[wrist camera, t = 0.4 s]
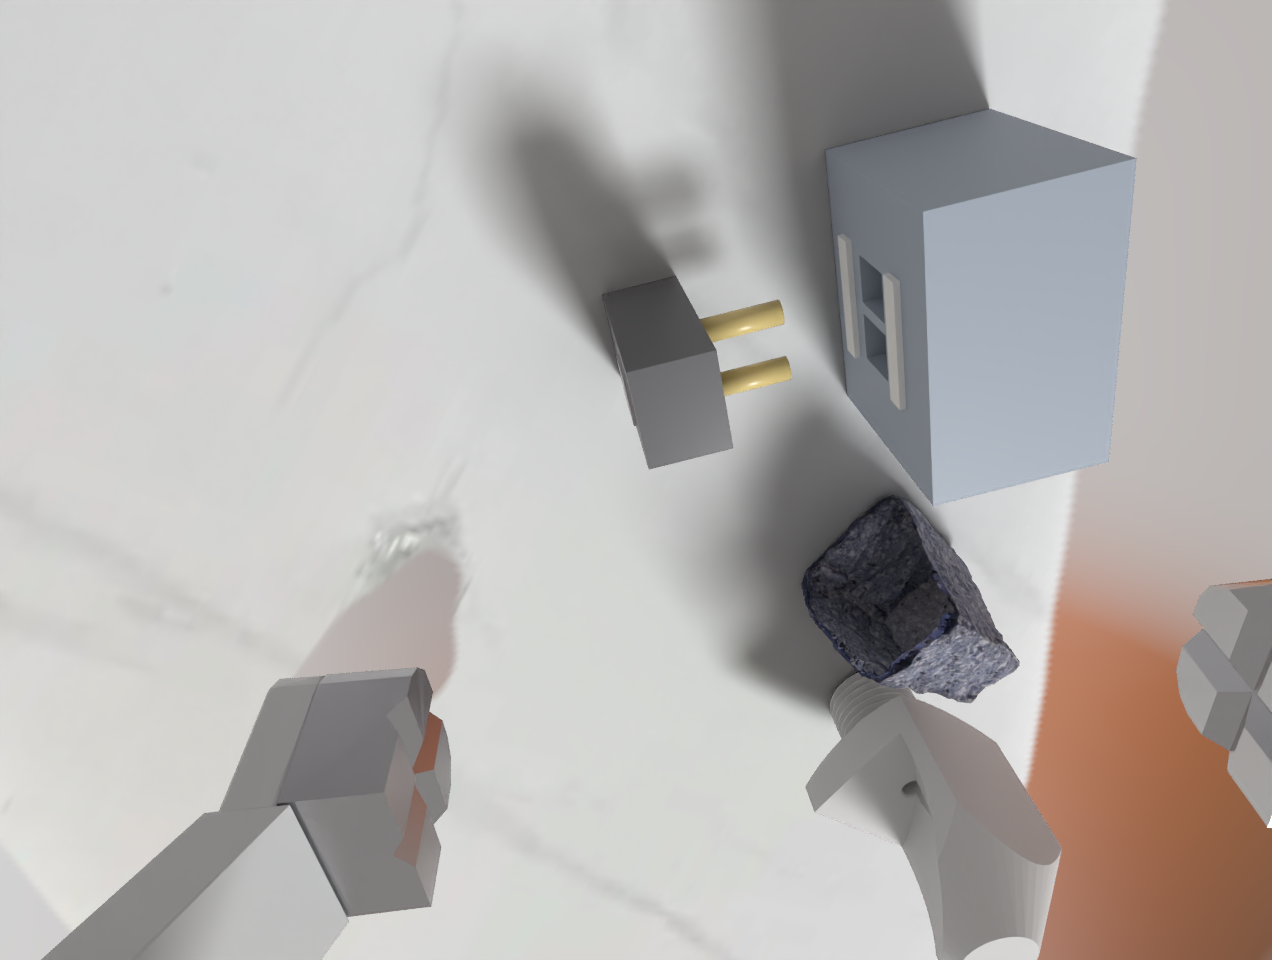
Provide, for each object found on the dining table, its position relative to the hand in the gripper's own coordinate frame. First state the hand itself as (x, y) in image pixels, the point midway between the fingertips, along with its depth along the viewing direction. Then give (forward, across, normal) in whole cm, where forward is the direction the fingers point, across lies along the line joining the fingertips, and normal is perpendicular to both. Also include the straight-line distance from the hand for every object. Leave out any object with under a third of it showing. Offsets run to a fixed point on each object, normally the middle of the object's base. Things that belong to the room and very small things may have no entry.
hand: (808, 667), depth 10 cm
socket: (+39, -14, +12) cm, 43 cm away
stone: (+39, -13, +32) cm, 52 cm away
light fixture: (+38, -12, +44) cm, 59 cm away
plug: (+38, -1, +13) cm, 40 cm away
